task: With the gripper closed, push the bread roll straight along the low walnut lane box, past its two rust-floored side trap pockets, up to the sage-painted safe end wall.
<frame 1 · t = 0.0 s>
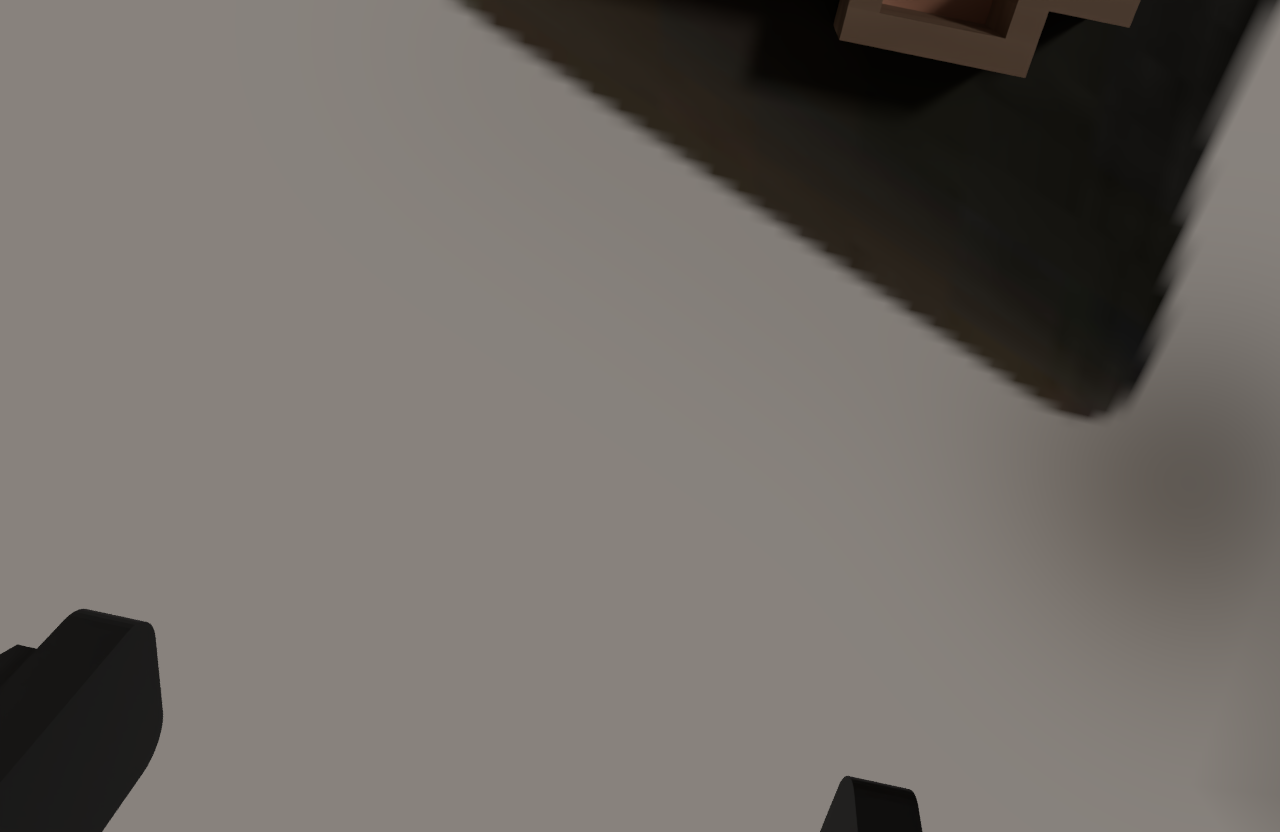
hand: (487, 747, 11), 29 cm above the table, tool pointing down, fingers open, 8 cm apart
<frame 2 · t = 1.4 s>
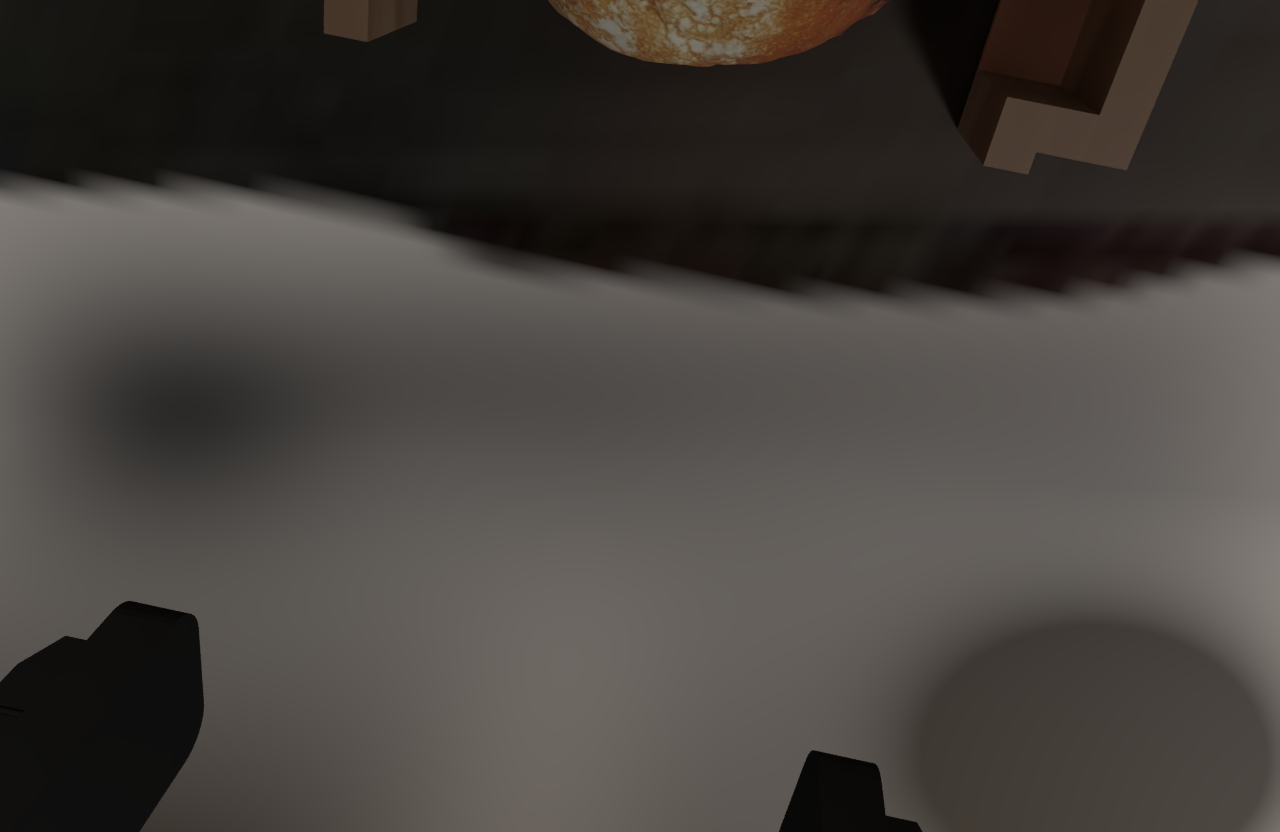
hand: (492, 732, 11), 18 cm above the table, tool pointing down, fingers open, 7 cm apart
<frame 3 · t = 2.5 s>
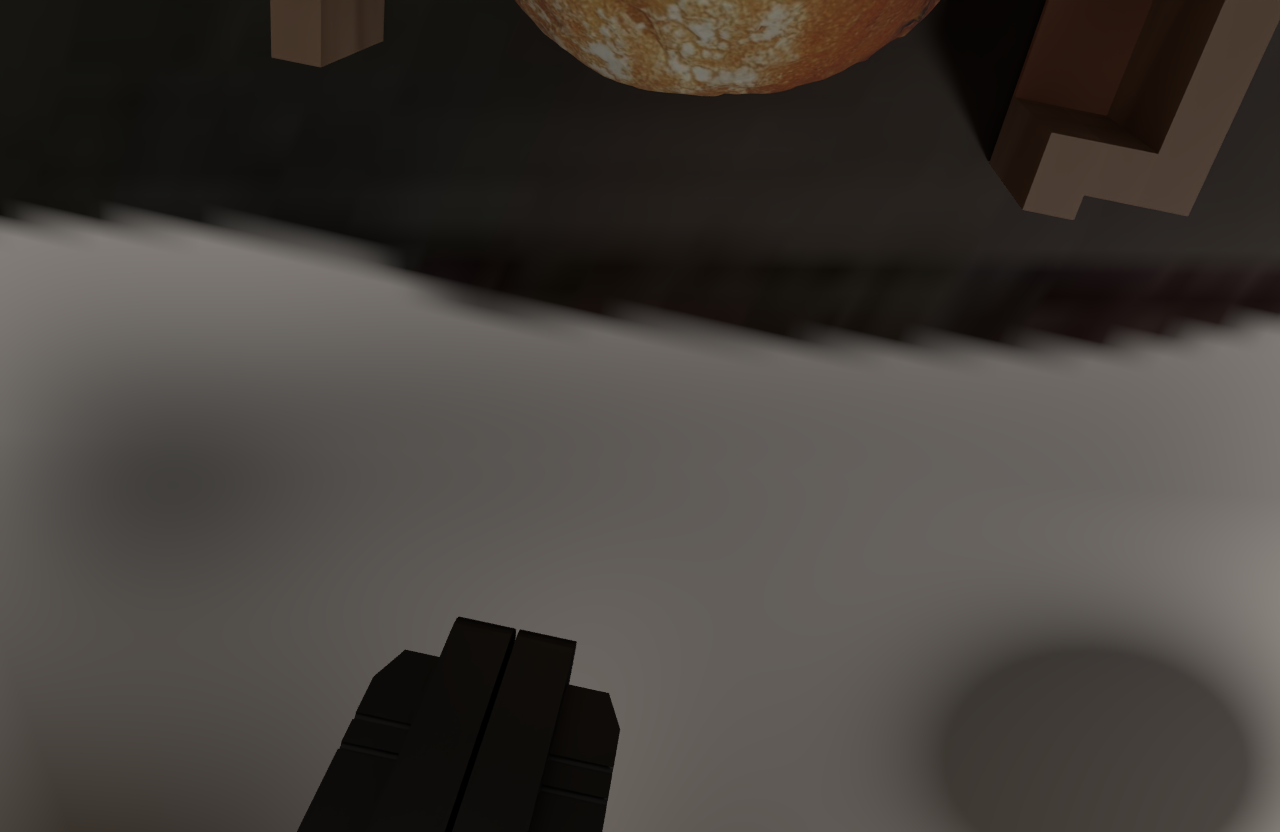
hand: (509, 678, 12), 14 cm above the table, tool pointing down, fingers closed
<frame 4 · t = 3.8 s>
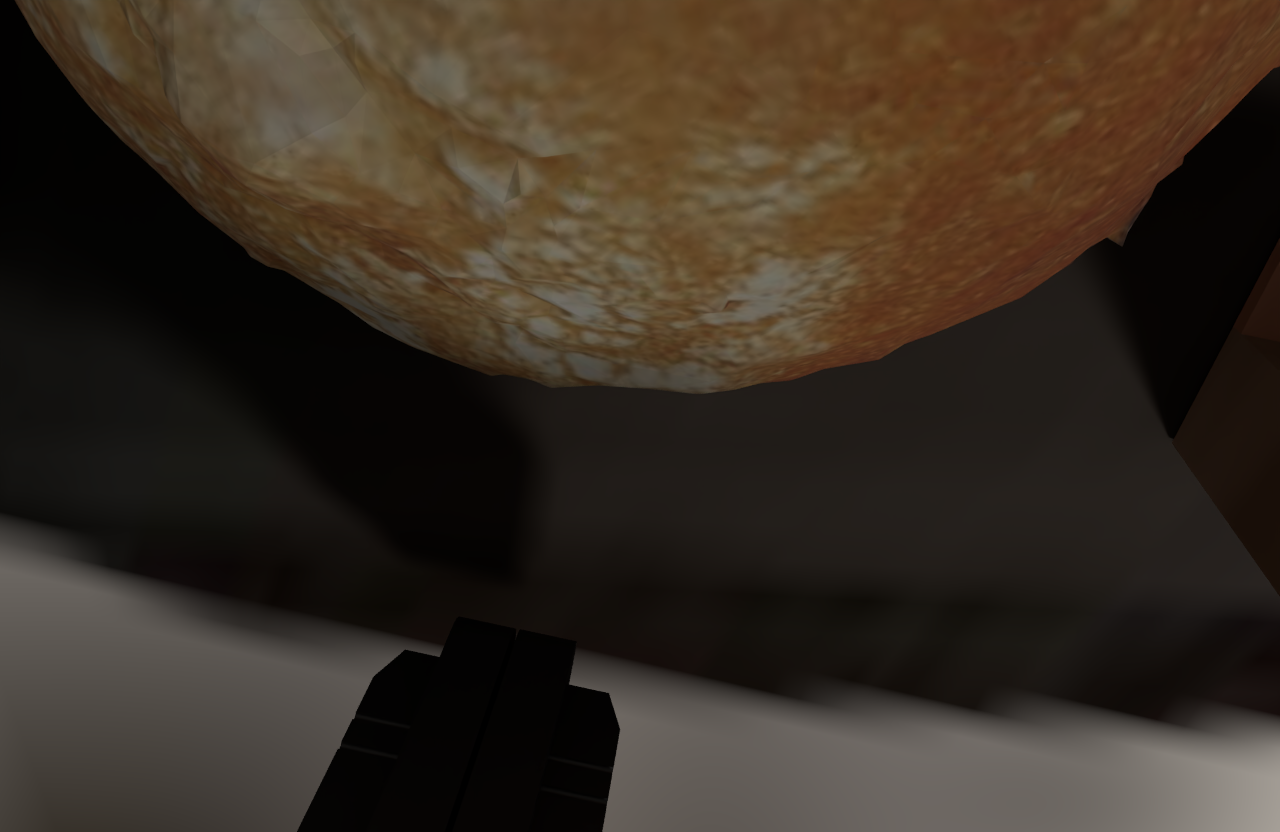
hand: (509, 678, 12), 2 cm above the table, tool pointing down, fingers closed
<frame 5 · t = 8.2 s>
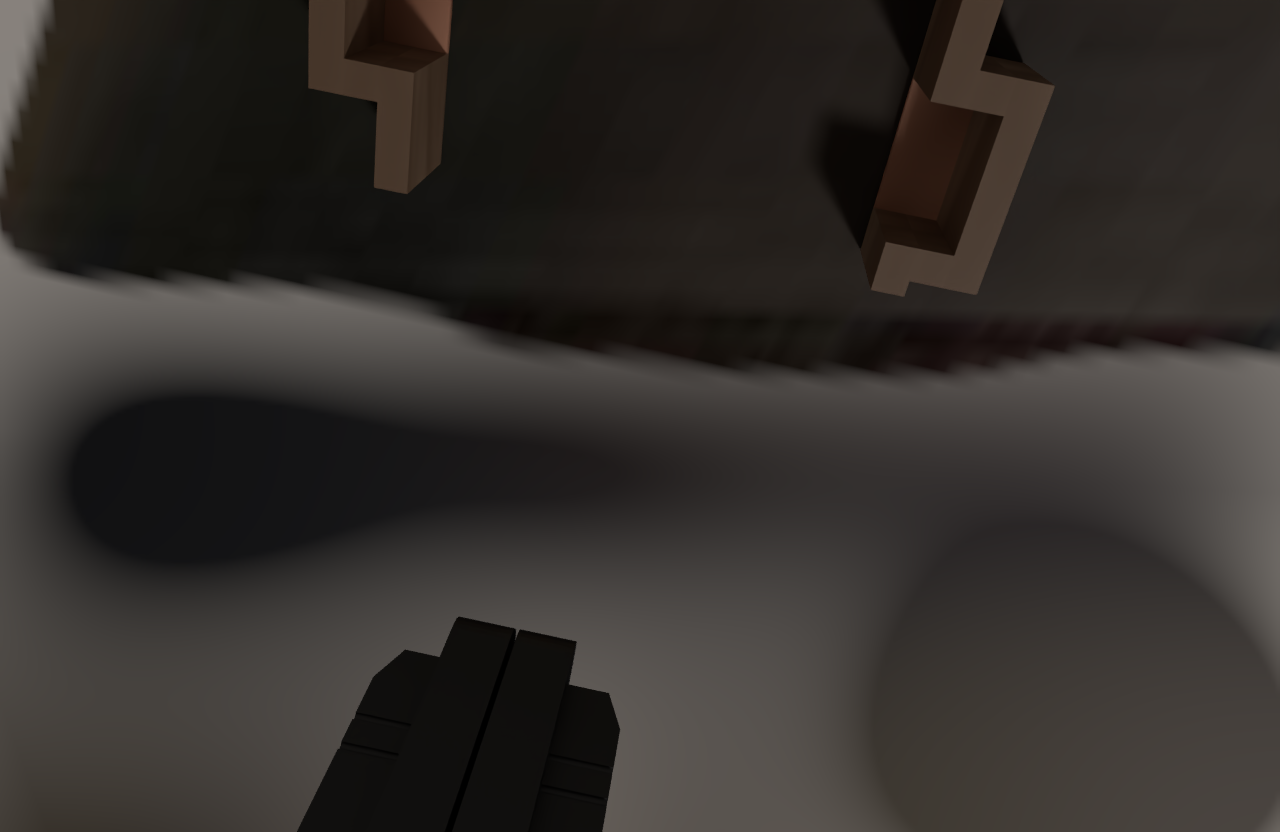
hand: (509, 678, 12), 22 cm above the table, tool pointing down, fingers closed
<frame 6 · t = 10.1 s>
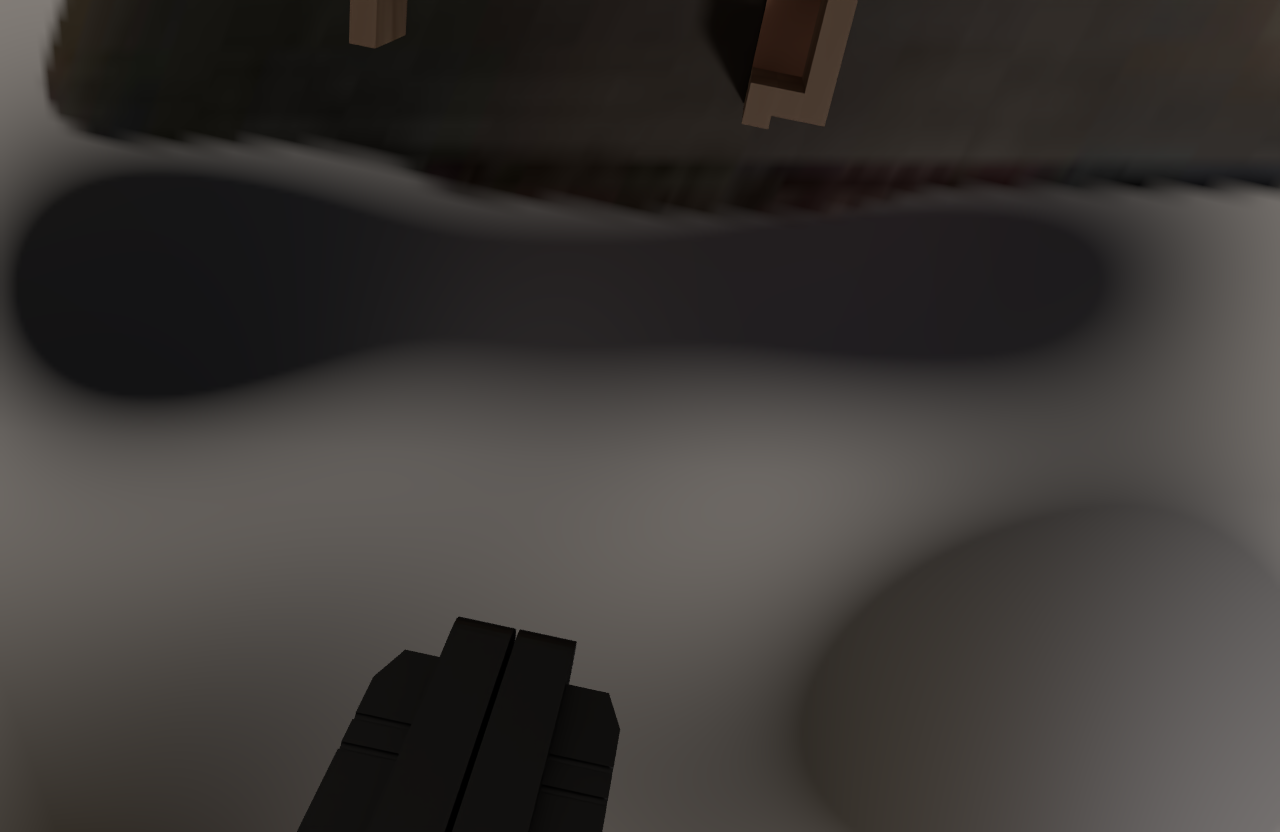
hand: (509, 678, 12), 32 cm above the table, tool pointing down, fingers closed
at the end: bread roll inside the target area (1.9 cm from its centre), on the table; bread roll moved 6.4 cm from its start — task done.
